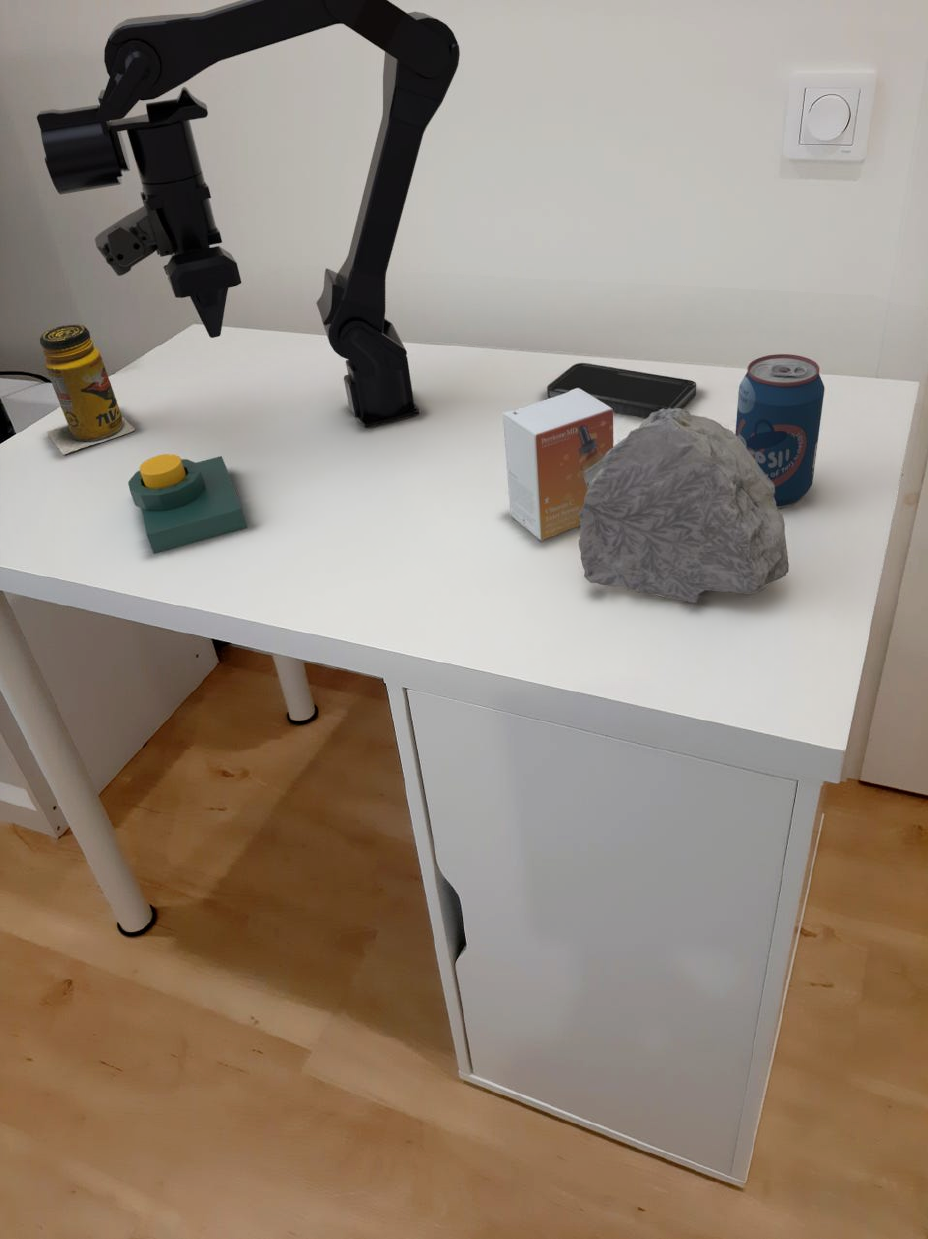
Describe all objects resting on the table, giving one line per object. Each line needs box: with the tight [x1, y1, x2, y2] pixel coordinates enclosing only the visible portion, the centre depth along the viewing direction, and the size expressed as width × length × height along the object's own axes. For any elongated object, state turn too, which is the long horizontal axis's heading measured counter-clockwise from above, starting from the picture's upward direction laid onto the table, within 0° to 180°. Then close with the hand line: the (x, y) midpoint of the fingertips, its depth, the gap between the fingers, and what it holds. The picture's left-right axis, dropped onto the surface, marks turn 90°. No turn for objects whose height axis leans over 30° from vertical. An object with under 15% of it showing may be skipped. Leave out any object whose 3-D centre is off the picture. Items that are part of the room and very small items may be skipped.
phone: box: [546, 362, 697, 419], centre depth 107 cm, size 8×1×15 cm
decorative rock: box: [578, 408, 790, 604], centre depth 75 cm, size 16×7×15 cm, turn 68°
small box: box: [502, 388, 614, 541], centre depth 86 cm, size 8×6×10 cm
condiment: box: [39, 323, 136, 456], centre depth 110 cm, size 7×8×12 cm
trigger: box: [139, 453, 186, 489], centre depth 94 cm, size 4×4×2 cm
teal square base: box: [127, 455, 248, 555], centre depth 95 cm, size 10×12×4 cm
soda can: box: [734, 353, 825, 509], centre depth 85 cm, size 7×7×12 cm
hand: (214, 336), depth 101 cm, fingers closed
